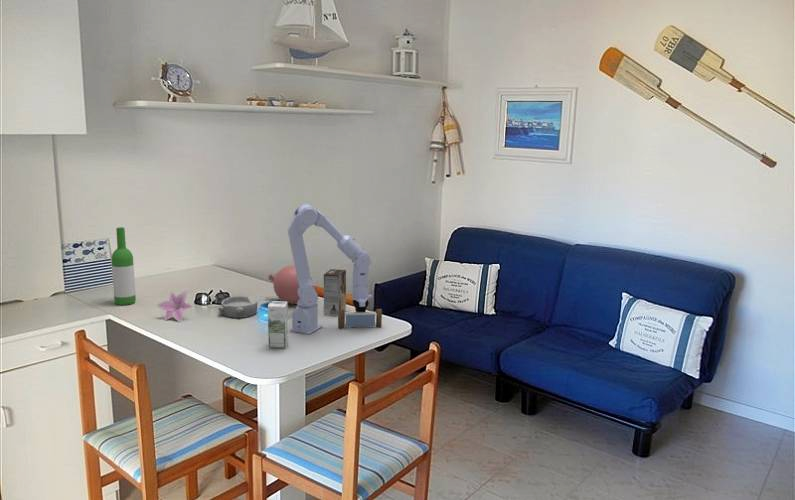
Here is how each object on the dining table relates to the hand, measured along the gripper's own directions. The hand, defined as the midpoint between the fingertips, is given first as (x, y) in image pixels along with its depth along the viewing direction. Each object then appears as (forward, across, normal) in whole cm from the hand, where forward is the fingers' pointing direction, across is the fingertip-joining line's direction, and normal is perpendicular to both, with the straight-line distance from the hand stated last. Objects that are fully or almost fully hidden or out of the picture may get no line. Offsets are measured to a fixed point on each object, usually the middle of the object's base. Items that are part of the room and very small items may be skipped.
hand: (360, 320), depth 233 cm
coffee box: (+2, +16, +8) cm, 18 cm away
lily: (+2, +12, +67) cm, 68 cm away
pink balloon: (+2, +31, +26) cm, 41 cm away
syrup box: (+2, -19, +29) cm, 34 cm away
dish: (+2, +17, +45) cm, 48 cm away
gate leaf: (+1, -2, 0) cm, 3 cm away
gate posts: (+2, -2, 0) cm, 3 cm away
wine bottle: (+2, +33, +90) cm, 96 cm away
